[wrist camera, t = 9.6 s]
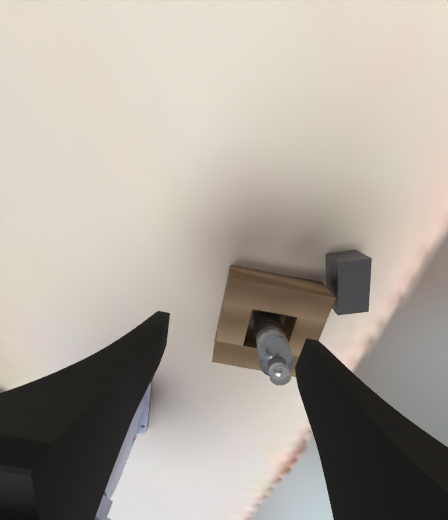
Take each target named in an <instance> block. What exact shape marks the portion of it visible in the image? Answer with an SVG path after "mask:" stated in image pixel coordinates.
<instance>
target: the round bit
mask: <svg viewBox="0 0 448 520" xmlns="http://www.w3.org/2000/svg"><path fill="white" fill-rule="evenodd" d="M253 323H254V330H255V337H256V344H257V351H258V358H259V366H260V369H261V370H262V371H263V372H264V373H265V374H266V375H268V376H270V380H271V382H272V383H274V384H276V385H284V384H287V383H288V382H289V381H290V379H291V375H290V372H291V371H292V370H293V368H294V366H295V360H294V357H293V354H292V351H291V348H290V346H289V343H288V340H287V337H286V334H285V331H284V329H283V326H282V323H281V320H280V317H279V314H277V313H271V312H266V311H260V310H255V311H254V313H253Z"/></svg>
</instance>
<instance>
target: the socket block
mask: <svg viewBox="0 0 448 520" xmlns="http://www.w3.org/2000/svg"><path fill="white" fill-rule="evenodd" d="M335 298H336V297H335V296H334V295H333V294H332V293H331V292H330V291H329V290H328V289H327V288H326V287H325V286H324V284H323V283H322V282H317V281H312V280H306V279H301V278H296V277H290V276H285V275H280V274H274V273H269V272H264V271H258V270H253V269H248V268H242V267H237V266H232V265H230V269H229V274H228V279H227V284H226V288H225V293H224V298H223V303H222V308H221V313H220V318H219V322H218V327H217V332H216V337H215V343H214V351H213V358H212V362H216V363H222V364H227V365H233V366H238V367H244V368H250V369H255V370H261V369H260V366H259V358H258V351H257V344H256V337H255V330H254V323H253V313H254V311H255V310H260V311H266V312H271V313H277V314H279V317H280V320H281V323H282V326H283V329H284V331H285V334H286V337H287V340H288V343H289V346H290V348H291V351H292V354H293V357H294V360H295V366H296V364H297V361H298V358H299V356H300V353H301V350H302V348H303V345H304V343H305V340H306V338H308V339H313V340H319V338H320V335H321V333H322V330H323V328H324V326H325V323H326V321H327V318H328V316H329V313H330V311H331V308H332V306H333V303H334V301H335ZM295 366H294V368H293V370H292V371H291V372H290V375H291V376H294V377H296V373H295ZM261 371H262V370H261Z"/></svg>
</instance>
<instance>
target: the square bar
mask: <svg viewBox="0 0 448 520" xmlns="http://www.w3.org/2000/svg"><path fill="white" fill-rule="evenodd" d="M371 260H372V258H370V257H368V256H366V255H364V254H362V253H360V252H358V251H356V250H351V251H344V252H337V253H330V254H326V288H327V289H328V290H329V291H330V292H331V293H332V294H333V295H334V296H335V297H336V298H335V301H334V303H333V306H332V309H333V310H334V311H335V312H336V314H337V315H343V314H352V313H361V312H368V311H369V294H370V277H371Z"/></svg>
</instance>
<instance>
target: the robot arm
mask: <svg viewBox="0 0 448 520" xmlns="http://www.w3.org/2000/svg"><path fill="white" fill-rule="evenodd" d="M169 316H170V313H166V312H161V311H158V312H156V313H155V314H153V315H152V316H151V317H149V318H148V319H147V320H145V321H144V322H143V323H141V324H140V325H139V326H137V327H136V328H135V329H133V330H132V331H130V332H129V333H127V334H126V335H125V336H123V337H121V338H120V339H118V340H117V341H115V342H114V343H112V344H110V345H109V346H107V347H105V348H104V349H102V350H100V351H99V352H97V353H95V354H93V355H91V356H89V357H87V358H85V359H83V360H81V361H79V362H77V363H75V364H73V365H71V366H68V367H66V368H64V369H62V370H60V371H58V372H55V373H53V374H50V375H48V376H46V377H43V378H41V379H38V380H36V381H33V382H30V383H28V384H25V385H23V386H20V387H17V388H14V389H11V390H8V391H5V392H2V393H0V520H110V519H109V518H107V515H108V513H109V510H110V508H111V505H112V501H111V500H110V498H111V496H112V494H113V493H114V491H115V489H116V487H117V484H118V482H119V479H120V477H121V474H122V472H123V469H124V467H125V464H126V462H127V459H128V456H129V454H130V451H131V449H132V446H133V444H134V441H135V439H136V436H137V434H138V433H141V434H144V433H146V431H147V424H148V413H149V401H150V390H151V380H152V378H153V376H154V374H155V372H156V370H157V368H158V366H159V364H160V361H161V358H162V356H163V353H164V350H165V347H166V343H167V334H168V325H169ZM295 373H296V378H297V383H298V388H299V392H300V395H301V398H302V401H303V404H304V407H305V410H306V413H307V416H308V419H309V423H310V426H311V429H312V432H313V435H314V438H315V441H316V444H317V448H318V451H319V455H320V459H321V463H322V467H323V472H324V476H325V480H326V485H327V490H328V494H329V499H330V504H331V508H332V513H333V518H334V520H448V447H447V446H445V445H444V444H442V443H440V442H439V441H438V440H436V439H435V438H433V437H432V436H431V435H429V434H428V433H426V432H425V431H424V430H422V429H421V428H419V427H418V426H416V425H415V424H414V423H412V422H411V421H410V420H408V419H407V418H405V417H404V416H403V415H402V414H400V413H399V412H398V411H397V410H395V409H394V408H393V407H392V406H390V405H389V404H388V403H386V402H385V401H384V400H383V399H381V398H380V397H379V396H378V395H377V394H376V393H375V392H373V391H372V390H371V389H370V388H369V387H368V386H366V385H365V384H364V383H363V382H362V381H361V380H360V379H359V378H358V377H356V376H355V375H354V374H353V373H352V372H351V371H350V370H349V369H348V368H347V367H346V366H345V365H344V364H343V363H342V362H341V361H339V360H338V359H337V358H336V357H335V356H334V355H333V354H332V353H331V352H330V351H329V350H328V349H327V348H326V347H325V346H324V345H323V344H321V343H320V342H319V341H318V340H313V339H308V338H306V340H305V343H304V345H303V348H302V350H301V353H300V356H299V358H298V361H297V364H296V366H295Z"/></svg>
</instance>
